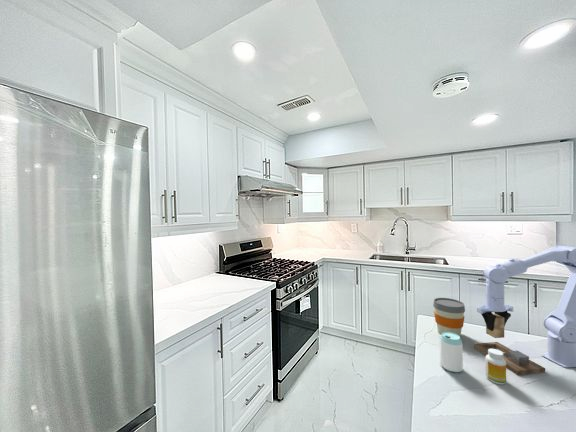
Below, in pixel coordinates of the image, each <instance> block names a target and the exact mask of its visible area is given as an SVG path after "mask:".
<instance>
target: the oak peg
mask: <svg viewBox="0 0 576 432" xmlns="http://www.w3.org/2000/svg"><path fill="white" fill-rule="evenodd" d="M493 315H495V316H497V317H496V319H495V322H494V330H493V331H491V330H489V329H487V326H485V333H486V334H487V335H489V336H491V337H492V338H495V339H502V338H505V327H504V317H501V316H499V315H497V314H495V313H493Z"/></svg>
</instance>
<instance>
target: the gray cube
mask: <svg viewBox="0 0 576 432" xmlns="http://www.w3.org/2000/svg"><path fill="white" fill-rule="evenodd" d="M508 359H509V360H510V361H512V362H514V363H515V364H517V365H519V366H521V365H529V360H530V356H529V355H527V354H525V353H523V352H521V351H519V350H513V351H508Z"/></svg>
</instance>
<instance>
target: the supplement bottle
mask: <svg viewBox="0 0 576 432" xmlns="http://www.w3.org/2000/svg"><path fill="white" fill-rule="evenodd" d="M487 349H488V355H485V377H486V379H487V380H488V381H490V382H492V383H493V384H497V385H505V384H507V368H506V361H505V360H504V359H503V353H504V352H503V351H501V350H499V349H497V348H487Z"/></svg>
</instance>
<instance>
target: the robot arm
mask: <svg viewBox="0 0 576 432" xmlns="http://www.w3.org/2000/svg"><path fill="white" fill-rule="evenodd" d="M549 262H557V263H558V262H559V263H562V264H563V265H564V266H565V267H566V268H567V269H568V270H569V272H570V274H569V277H568V279H567V281H566V284H565V286H564V288H563V292H562V294H561V296H560V300H559V302H558V305H557V307H556V309H554V310H552V311H550V312H549V314H548V315H546V317H544V319H543V321H542V322H543V323H542V324H543V326H544V328H545V329H546V332H547V353H541V354H540V356H542V357H543V358H545V359H547V360H549V361H552V362H553V363H555V364H557V365H559V366H561V367H563V368H568V369H569V368H576V247H575V246H570V245H569V246H568V245H566V244H559V245H555V246H552V247H549V248H547V249H545V250H543V251H540V252H538V253H536V254H533V255H531V256H530V255H529V256H528V257H526V258H523V259H518V258H509V259H508V260H507V261H505V262H502V263H496V264H495V266H494V265H489V266H487V267H485V268H484V270H483V271H482V274H483V276H484V278H485V303H484V305H481V306H477V307H476V312H477V313H478V314H481V316H482V318H483V320H484V322H485V325H486V326H487V329H489V330H491V331H493V330H494V322H495V319H496V317H497V316H495V315H493V314H497V315H499V316H501V317H504V328H505V326H506V324H507V322H508V320H509V319H510V318H511V317H512V314H511V313H510V312H514V306H511V304H510V305H509V304H505V282H506V281H508V279H509V278H512V277H516V276H518V275H521V274H524V273H527V270H528V268H532V267H535V266H539V265H543V264H546V263H549ZM486 326H485V327H486Z"/></svg>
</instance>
